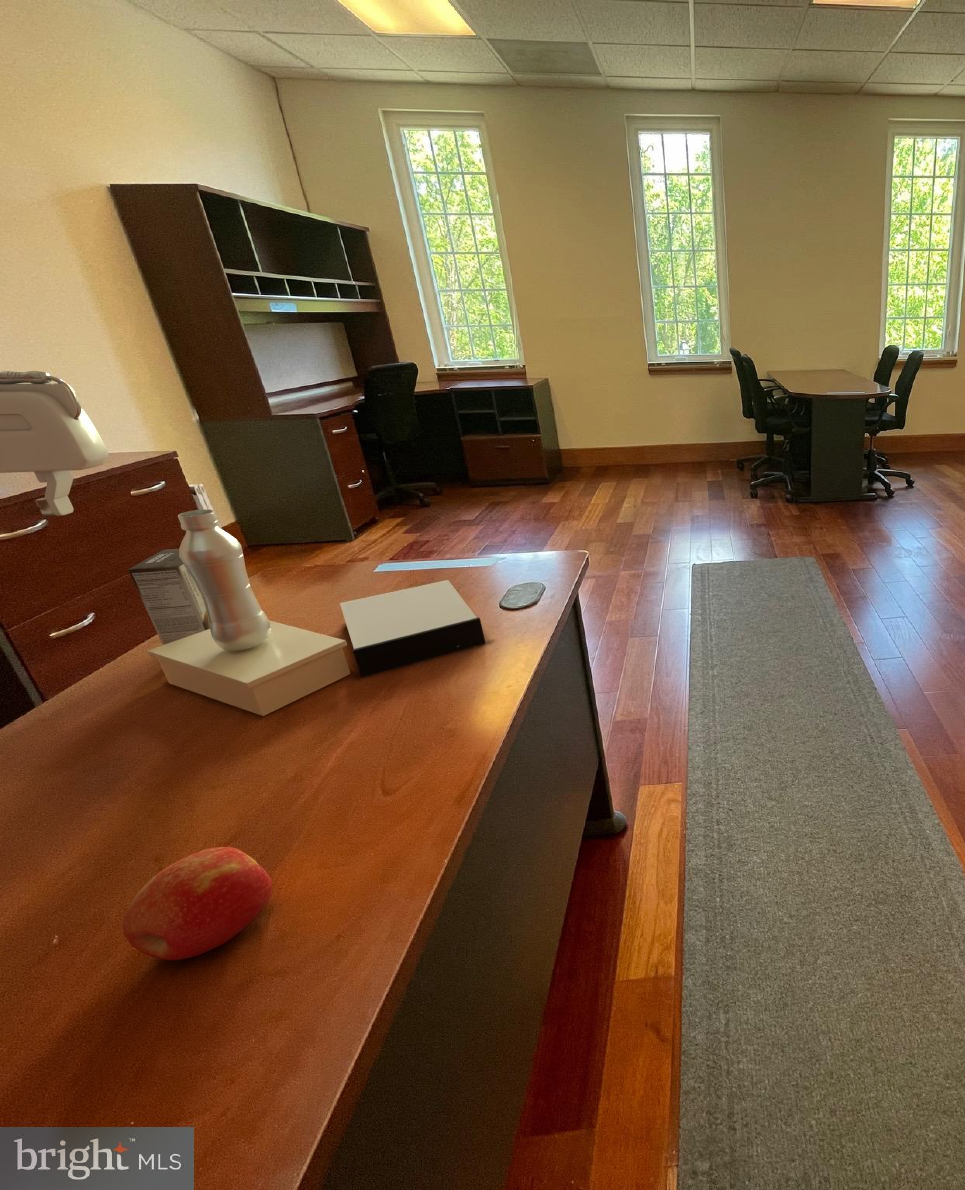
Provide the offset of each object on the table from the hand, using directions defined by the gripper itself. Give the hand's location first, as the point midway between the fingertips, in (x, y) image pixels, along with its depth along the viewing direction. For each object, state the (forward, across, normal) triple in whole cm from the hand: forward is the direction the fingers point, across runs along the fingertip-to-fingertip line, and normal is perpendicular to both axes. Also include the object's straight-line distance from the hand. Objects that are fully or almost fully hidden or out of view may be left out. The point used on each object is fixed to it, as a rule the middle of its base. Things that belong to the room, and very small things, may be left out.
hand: (1, 517), depth 61 cm
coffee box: (+31, +9, -32) cm, 46 cm away
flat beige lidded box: (+31, -5, -19) cm, 37 cm away
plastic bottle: (+25, -5, -19) cm, 32 cm away
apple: (+31, -24, +29) cm, 49 cm away
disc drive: (+31, -22, -30) cm, 48 cm away
